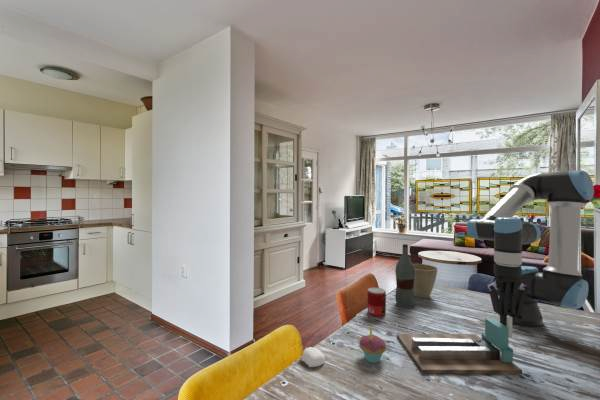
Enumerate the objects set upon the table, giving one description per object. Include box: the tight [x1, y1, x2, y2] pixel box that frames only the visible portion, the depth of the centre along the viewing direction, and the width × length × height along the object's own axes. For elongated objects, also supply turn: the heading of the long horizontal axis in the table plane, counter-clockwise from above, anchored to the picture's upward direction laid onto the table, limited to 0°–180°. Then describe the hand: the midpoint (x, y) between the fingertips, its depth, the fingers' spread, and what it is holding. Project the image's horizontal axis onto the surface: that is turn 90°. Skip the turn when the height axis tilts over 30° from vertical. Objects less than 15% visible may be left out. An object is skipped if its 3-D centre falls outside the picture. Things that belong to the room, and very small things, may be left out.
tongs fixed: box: [419, 338, 501, 360], centre depth 96 cm, size 25×7×3 cm, turn 90°
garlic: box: [301, 346, 326, 368], centre depth 93 cm, size 8×7×4 cm
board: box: [396, 333, 523, 375], centre depth 98 cm, size 30×23×1 cm
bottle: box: [394, 243, 416, 309], centre depth 143 cm, size 9×9×30 cm
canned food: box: [367, 287, 387, 318], centre depth 132 cm, size 8×8×11 cm
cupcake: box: [359, 324, 387, 364], centre depth 95 cm, size 9×8×12 cm
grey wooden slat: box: [412, 338, 475, 350], centre depth 99 cm, size 20×2×3 cm, turn 87°
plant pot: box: [413, 263, 438, 299], centre depth 156 cm, size 15×15×16 cm
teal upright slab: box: [481, 318, 514, 363], centre depth 96 cm, size 3×11×10 cm, turn 0°
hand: (506, 335), depth 95 cm, fingers closed
